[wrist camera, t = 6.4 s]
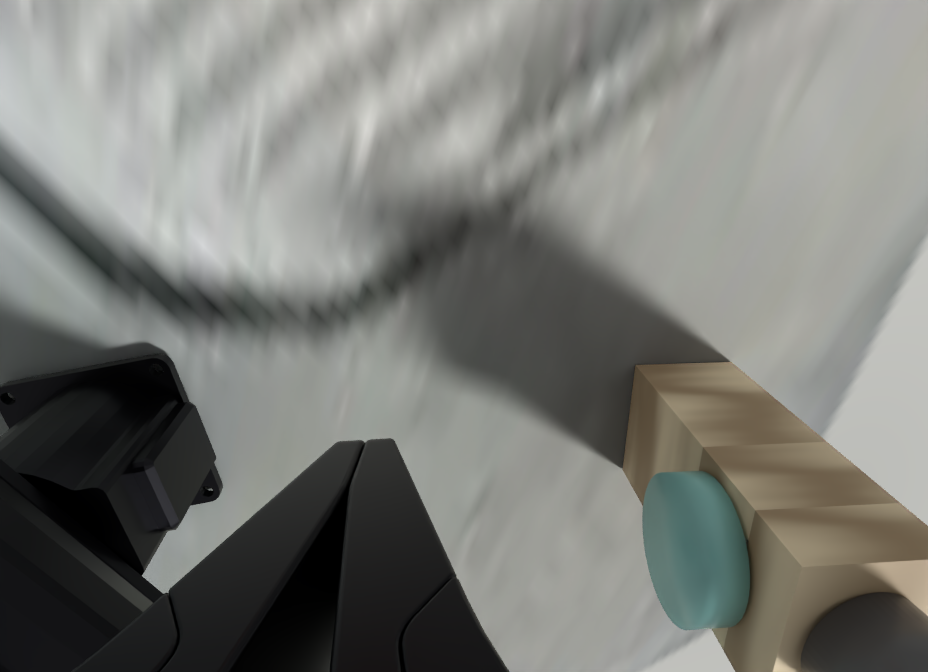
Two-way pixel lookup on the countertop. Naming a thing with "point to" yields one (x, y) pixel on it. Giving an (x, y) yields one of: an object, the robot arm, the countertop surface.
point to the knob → (695, 550)
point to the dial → (869, 637)
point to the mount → (775, 505)
